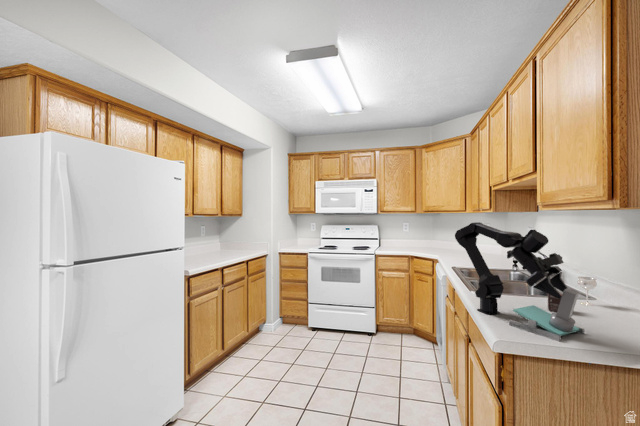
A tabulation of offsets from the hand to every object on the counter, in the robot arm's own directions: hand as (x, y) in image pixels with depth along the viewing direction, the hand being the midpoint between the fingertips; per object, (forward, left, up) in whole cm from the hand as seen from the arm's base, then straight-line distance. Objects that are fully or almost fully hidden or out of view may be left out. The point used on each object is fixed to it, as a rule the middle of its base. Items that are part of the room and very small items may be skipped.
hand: (564, 295), depth 108 cm
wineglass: (-27, +45, -14) cm, 55 cm away
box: (-23, +23, -14) cm, 36 cm away
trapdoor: (-7, -2, -12) cm, 13 cm away
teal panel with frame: (-6, -2, -14) cm, 15 cm away
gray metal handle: (-1, -1, -11) cm, 11 cm away
